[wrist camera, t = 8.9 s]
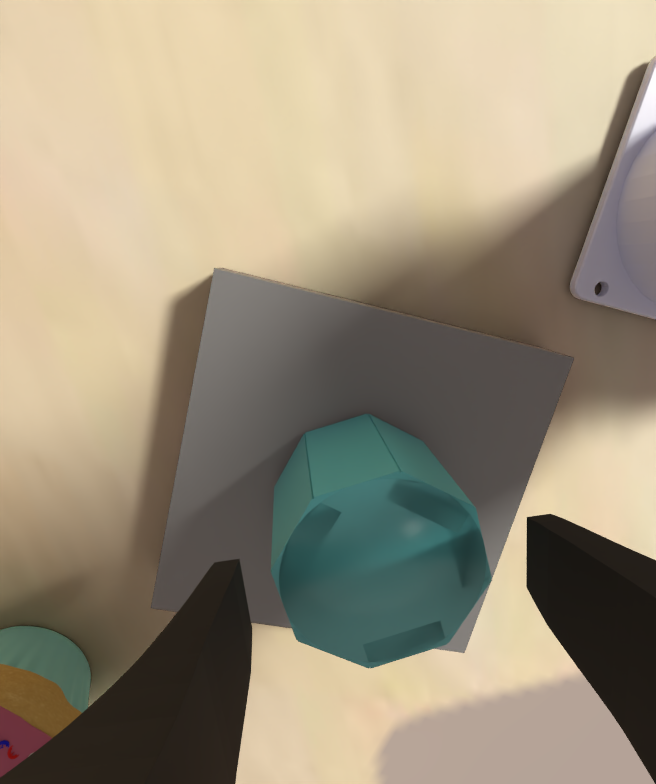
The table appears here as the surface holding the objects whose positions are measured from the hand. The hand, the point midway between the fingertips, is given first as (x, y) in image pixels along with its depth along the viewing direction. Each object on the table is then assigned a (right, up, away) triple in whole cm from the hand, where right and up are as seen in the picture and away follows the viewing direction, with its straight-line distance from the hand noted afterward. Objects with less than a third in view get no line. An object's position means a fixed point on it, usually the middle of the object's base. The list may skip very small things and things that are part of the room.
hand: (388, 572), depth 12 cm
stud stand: (-1, +2, +7) cm, 7 cm away
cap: (0, +1, +4) cm, 5 cm away
